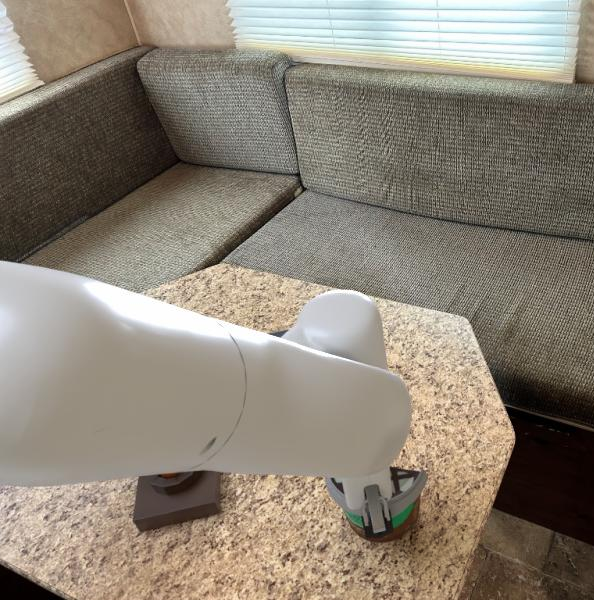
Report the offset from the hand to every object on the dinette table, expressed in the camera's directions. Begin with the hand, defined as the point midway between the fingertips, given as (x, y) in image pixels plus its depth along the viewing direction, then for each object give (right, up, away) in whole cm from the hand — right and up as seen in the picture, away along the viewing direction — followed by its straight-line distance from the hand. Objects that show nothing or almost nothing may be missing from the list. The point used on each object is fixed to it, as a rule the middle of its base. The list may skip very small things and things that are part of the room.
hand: (372, 501), depth 71 cm
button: (-26, +2, +8) cm, 27 cm away
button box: (-26, -1, +10) cm, 28 cm away
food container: (0, -4, +3) cm, 6 cm away
